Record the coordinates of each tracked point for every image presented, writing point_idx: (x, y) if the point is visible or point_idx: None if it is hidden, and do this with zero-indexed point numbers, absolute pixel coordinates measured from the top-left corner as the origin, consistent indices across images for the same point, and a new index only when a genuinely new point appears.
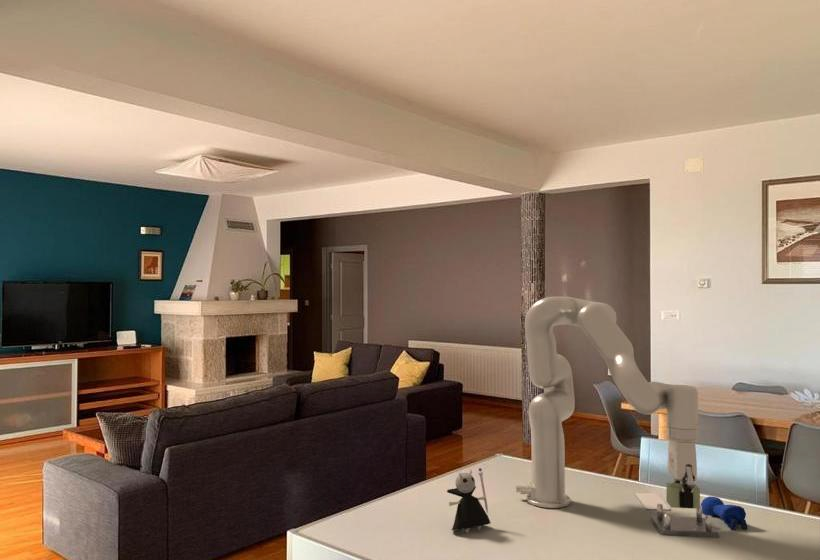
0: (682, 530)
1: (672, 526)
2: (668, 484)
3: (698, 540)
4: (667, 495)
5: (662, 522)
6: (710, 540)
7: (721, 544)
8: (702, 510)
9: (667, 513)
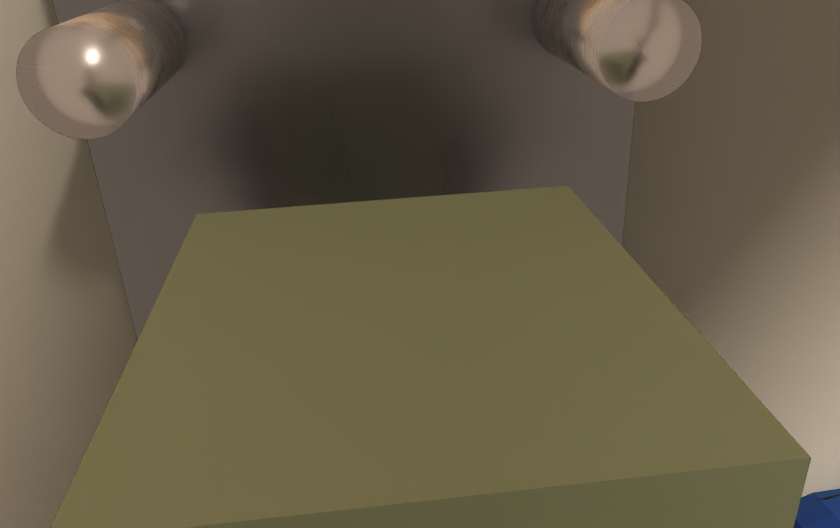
0: (119, 227)
1: (240, 127)
2: (560, 500)
3: (32, 341)
4: (536, 257)
5: (376, 13)
6: (82, 445)
7: (6, 512)
8: (836, 513)
9: (130, 95)
